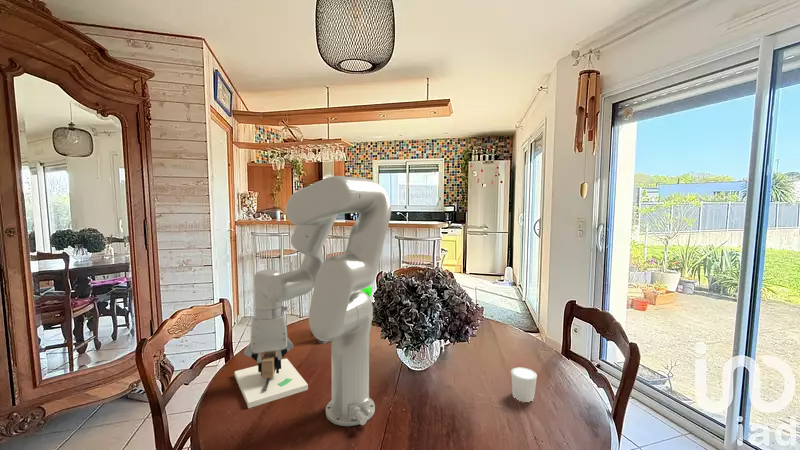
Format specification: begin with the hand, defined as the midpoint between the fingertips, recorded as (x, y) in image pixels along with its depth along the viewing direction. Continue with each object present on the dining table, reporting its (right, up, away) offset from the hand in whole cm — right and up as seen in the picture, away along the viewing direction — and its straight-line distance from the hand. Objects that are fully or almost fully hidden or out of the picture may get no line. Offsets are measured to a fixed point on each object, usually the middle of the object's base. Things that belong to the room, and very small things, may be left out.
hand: (269, 372), depth 103 cm
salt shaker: (+10, -1, +31) cm, 32 cm away
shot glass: (+73, -5, -6) cm, 74 cm away
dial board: (0, -3, 0) cm, 3 cm away
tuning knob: (0, -2, -2) cm, 3 cm away
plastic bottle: (+22, 0, +42) cm, 47 cm away
